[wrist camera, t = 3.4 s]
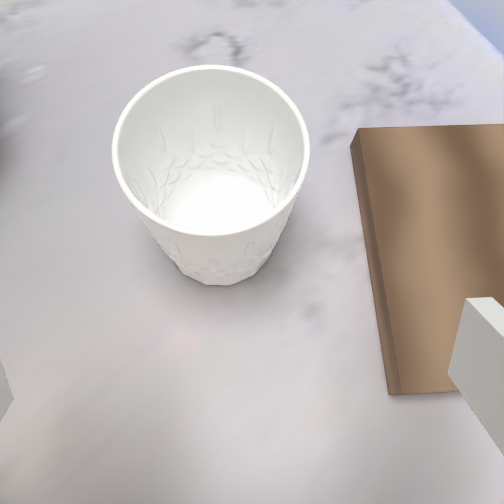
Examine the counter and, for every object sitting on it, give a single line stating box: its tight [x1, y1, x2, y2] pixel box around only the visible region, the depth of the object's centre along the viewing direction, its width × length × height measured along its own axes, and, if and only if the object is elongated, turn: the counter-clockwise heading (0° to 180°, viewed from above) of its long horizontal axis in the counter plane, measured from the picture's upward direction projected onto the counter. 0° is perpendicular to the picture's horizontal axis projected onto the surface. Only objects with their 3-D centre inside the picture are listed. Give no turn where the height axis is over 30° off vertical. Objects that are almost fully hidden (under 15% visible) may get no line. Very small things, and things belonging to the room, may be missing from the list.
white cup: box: [112, 65, 310, 285], centre depth 22 cm, size 8×8×10 cm
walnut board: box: [350, 124, 504, 395], centre depth 25 cm, size 12×16×2 cm
